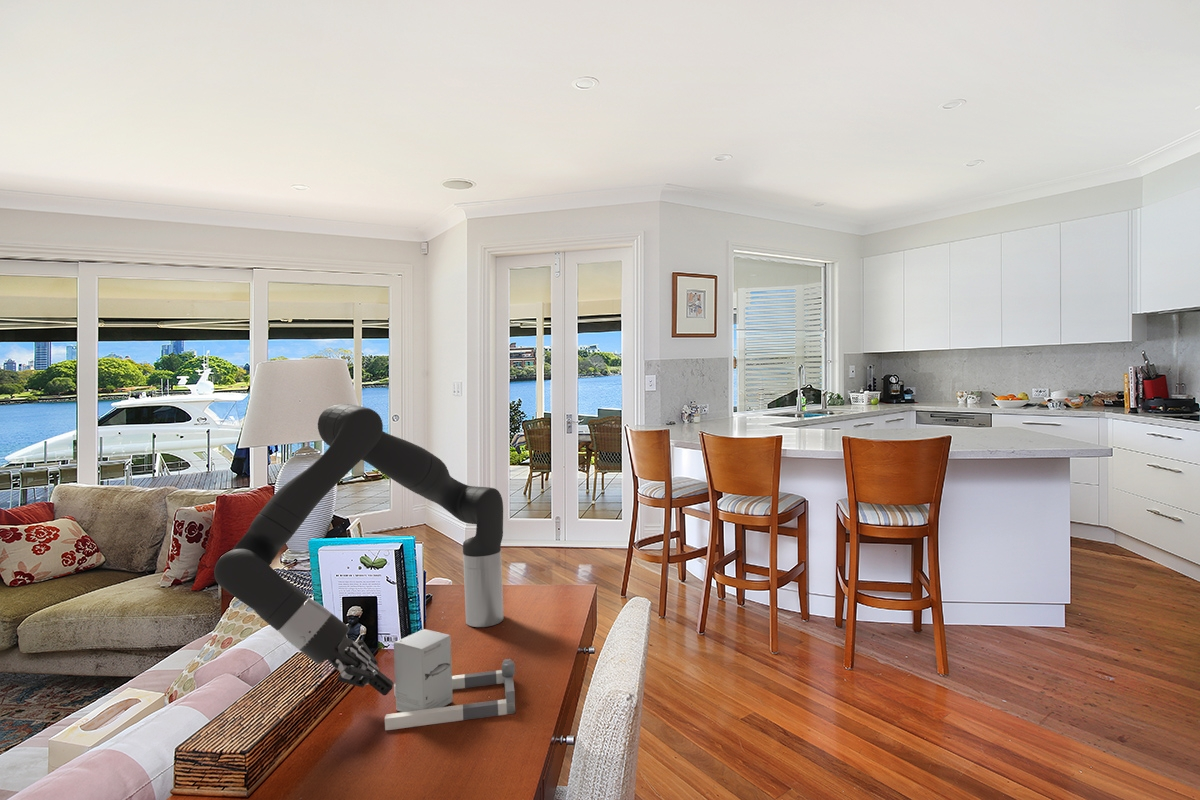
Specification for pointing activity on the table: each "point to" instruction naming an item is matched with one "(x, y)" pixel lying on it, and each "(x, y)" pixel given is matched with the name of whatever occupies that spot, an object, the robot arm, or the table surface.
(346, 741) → the table surface
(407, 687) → the supplement box
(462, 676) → the guide channel
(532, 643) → the table surface
